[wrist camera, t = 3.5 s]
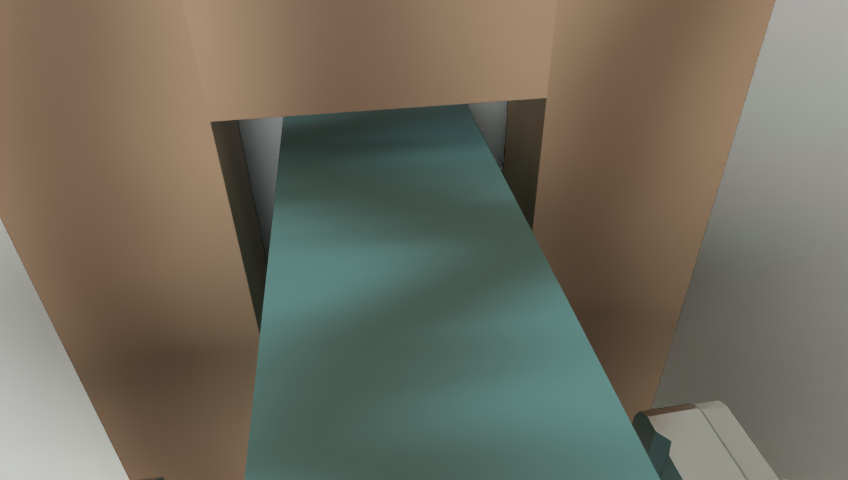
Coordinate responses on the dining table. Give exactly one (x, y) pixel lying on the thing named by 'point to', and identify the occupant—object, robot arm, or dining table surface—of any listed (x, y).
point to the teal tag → (419, 318)
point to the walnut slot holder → (334, 93)
